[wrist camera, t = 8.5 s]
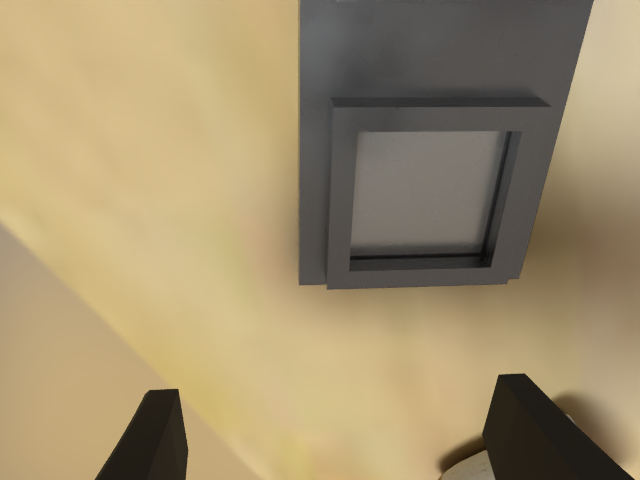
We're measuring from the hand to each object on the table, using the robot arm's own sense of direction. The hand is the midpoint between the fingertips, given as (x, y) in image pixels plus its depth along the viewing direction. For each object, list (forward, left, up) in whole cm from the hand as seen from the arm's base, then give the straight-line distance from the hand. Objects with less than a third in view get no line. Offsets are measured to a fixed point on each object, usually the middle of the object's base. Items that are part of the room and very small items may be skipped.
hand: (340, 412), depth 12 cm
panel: (-4, -6, -10) cm, 12 cm away
